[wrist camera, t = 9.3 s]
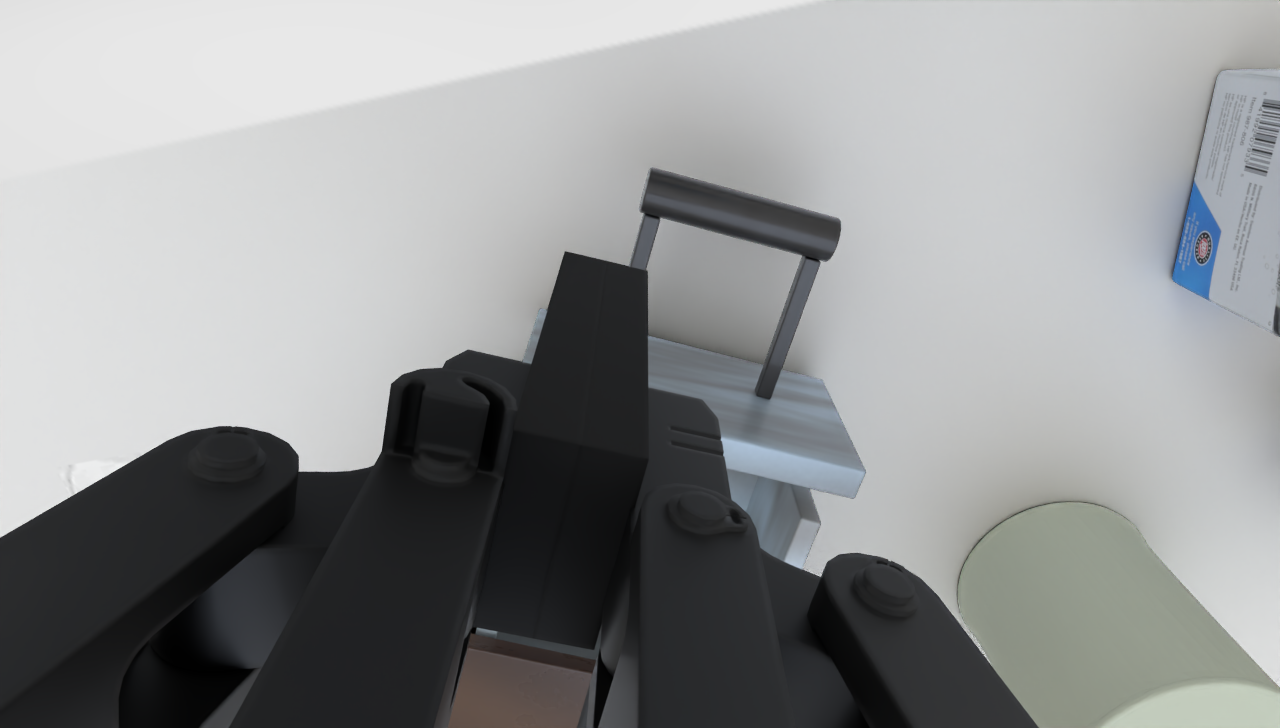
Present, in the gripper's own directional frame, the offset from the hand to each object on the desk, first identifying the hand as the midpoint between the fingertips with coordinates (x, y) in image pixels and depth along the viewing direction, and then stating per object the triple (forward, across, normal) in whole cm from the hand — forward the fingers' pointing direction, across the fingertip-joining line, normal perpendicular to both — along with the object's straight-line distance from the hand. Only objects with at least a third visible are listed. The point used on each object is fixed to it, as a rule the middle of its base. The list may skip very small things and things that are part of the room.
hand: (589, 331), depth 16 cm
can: (+20, +25, -15) cm, 36 cm away
